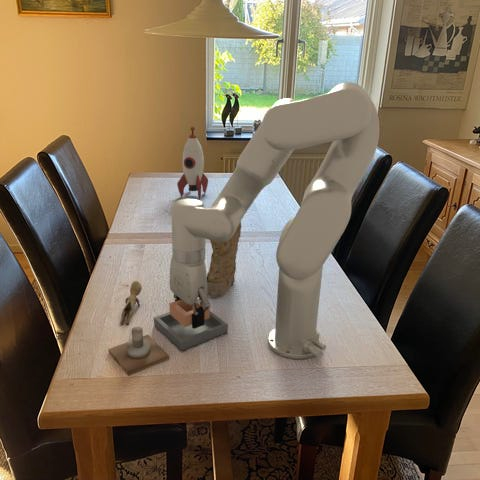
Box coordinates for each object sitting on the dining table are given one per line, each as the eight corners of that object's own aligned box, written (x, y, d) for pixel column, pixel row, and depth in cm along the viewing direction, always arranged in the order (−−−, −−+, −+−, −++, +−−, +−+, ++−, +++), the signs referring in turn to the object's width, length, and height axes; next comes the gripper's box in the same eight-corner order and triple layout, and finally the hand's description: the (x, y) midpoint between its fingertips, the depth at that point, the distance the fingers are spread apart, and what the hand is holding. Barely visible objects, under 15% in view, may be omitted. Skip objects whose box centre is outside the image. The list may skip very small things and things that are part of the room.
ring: (184, 327, 115) (184, 316, 114) (169, 313, 120) (169, 303, 119) (209, 318, 119) (209, 307, 118) (194, 305, 124) (193, 295, 123)
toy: (177, 197, 214) (175, 127, 202) (186, 190, 223) (185, 123, 211) (201, 200, 211) (200, 129, 199) (209, 193, 220) (209, 125, 208)
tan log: (203, 282, 144) (202, 183, 132) (238, 281, 145) (241, 183, 133) (206, 307, 131) (205, 200, 119) (244, 305, 132) (248, 199, 121)
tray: (227, 333, 120) (227, 324, 119) (181, 352, 113) (181, 342, 112) (198, 310, 130) (198, 301, 129) (154, 326, 122) (153, 317, 121)
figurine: (132, 331, 124) (144, 290, 136) (130, 318, 121) (142, 278, 133) (118, 330, 124) (131, 290, 136) (115, 318, 121) (129, 277, 133)
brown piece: (169, 359, 110) (168, 332, 108) (128, 376, 105) (125, 348, 102) (148, 337, 118) (146, 312, 115) (108, 352, 112) (106, 326, 109)
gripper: (155, 243, 117) (158, 308, 124) (195, 271, 104) (195, 341, 112) (183, 236, 121) (184, 299, 128) (224, 262, 109) (222, 330, 116)
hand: (189, 318), depth 120 cm, fingers closed on ring, 7 cm apart
